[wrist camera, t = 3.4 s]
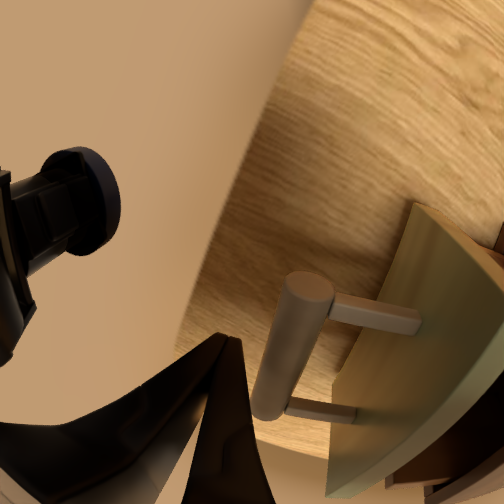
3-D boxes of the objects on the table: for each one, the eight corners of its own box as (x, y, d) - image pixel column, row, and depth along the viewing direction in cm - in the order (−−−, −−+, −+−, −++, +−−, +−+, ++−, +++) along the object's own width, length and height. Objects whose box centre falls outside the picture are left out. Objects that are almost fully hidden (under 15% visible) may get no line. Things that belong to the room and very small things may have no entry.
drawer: (257, 368, 14) (224, 481, 8) (307, 170, 10) (296, 249, 4) (485, 396, 13) (507, 472, 7) (566, 270, 8) (626, 338, 2)
